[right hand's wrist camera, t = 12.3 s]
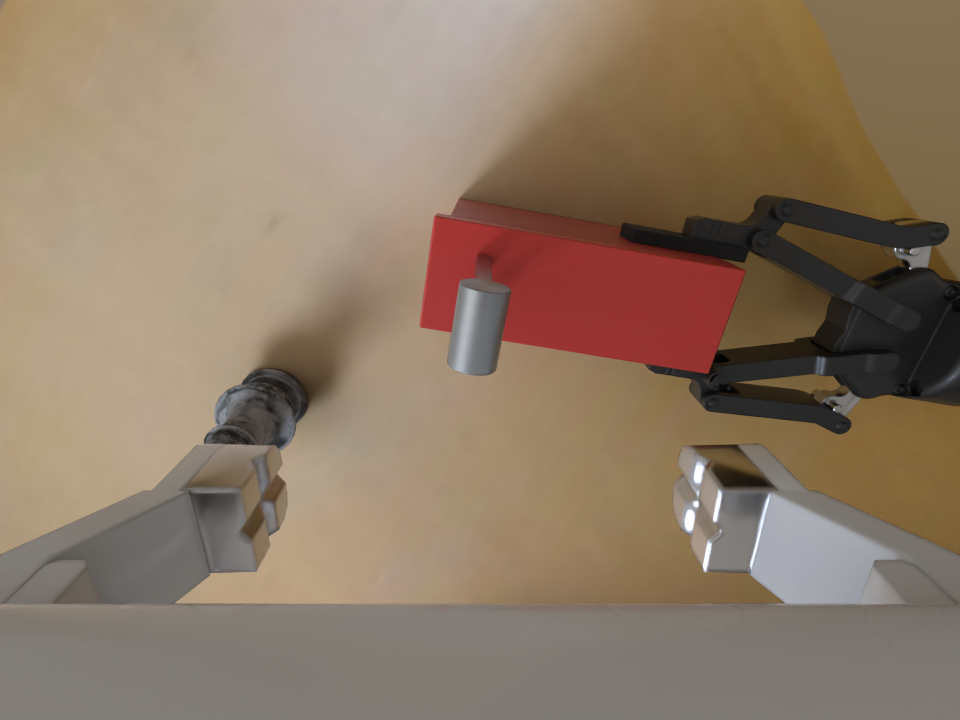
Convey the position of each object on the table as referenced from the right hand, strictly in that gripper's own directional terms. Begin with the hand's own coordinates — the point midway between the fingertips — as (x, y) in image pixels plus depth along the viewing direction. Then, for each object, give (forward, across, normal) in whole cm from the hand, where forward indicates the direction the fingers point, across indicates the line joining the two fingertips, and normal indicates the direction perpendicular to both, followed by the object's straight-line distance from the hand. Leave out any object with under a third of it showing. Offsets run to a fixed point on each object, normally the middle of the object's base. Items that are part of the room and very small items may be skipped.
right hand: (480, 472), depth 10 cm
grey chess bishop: (+28, +16, +12) cm, 35 cm away
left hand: (+21, -8, +1) cm, 23 cm away
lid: (+18, -5, +1) cm, 18 cm away
